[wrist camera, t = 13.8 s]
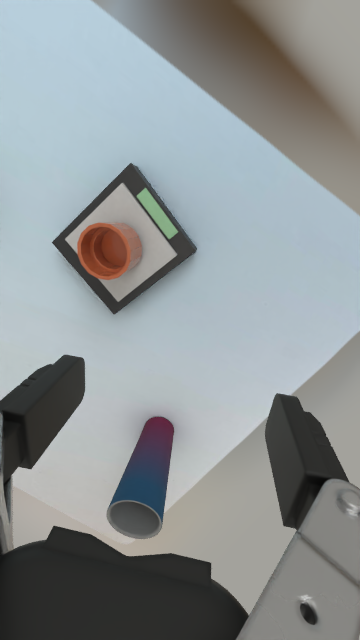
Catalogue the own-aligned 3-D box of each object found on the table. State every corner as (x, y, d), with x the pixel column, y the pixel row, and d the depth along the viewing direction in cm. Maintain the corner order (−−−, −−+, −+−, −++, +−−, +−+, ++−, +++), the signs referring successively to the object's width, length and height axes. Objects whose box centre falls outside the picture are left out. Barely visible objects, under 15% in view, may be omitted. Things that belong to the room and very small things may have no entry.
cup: (148, 406, 44) (116, 492, 31) (185, 423, 45) (171, 516, 31) (134, 433, 47) (99, 524, 33) (169, 449, 47) (149, 546, 33)
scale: (136, 166, 32) (129, 161, 29) (197, 248, 34) (195, 251, 32) (61, 240, 36) (48, 242, 34) (119, 309, 39) (112, 316, 36)
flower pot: (121, 211, 31) (104, 210, 26) (152, 252, 32) (141, 258, 28) (87, 242, 33) (66, 246, 28) (118, 280, 34) (103, 290, 29)
